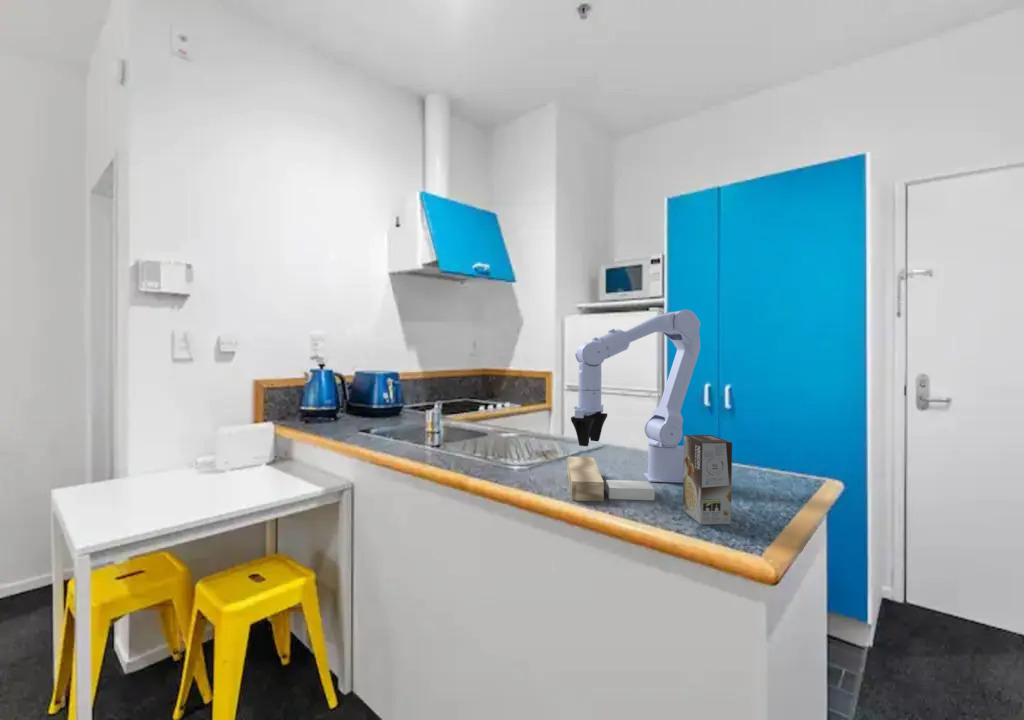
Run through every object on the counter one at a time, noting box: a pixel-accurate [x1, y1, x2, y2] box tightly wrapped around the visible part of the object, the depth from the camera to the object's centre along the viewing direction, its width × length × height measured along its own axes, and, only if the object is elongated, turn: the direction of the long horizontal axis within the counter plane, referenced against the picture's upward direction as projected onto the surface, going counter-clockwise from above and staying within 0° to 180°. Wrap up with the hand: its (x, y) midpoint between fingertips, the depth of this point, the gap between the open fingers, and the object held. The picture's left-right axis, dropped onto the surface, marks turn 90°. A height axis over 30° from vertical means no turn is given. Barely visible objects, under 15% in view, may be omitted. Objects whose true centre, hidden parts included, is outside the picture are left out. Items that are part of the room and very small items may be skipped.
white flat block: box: [605, 479, 656, 501], centre depth 117 cm, size 10×7×2 cm
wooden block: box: [566, 456, 605, 503], centre depth 125 cm, size 7×26×4 cm, turn 176°
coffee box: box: [682, 434, 733, 526], centre depth 102 cm, size 9×6×16 cm
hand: (589, 443), depth 128 cm, fingers open, 7 cm apart
